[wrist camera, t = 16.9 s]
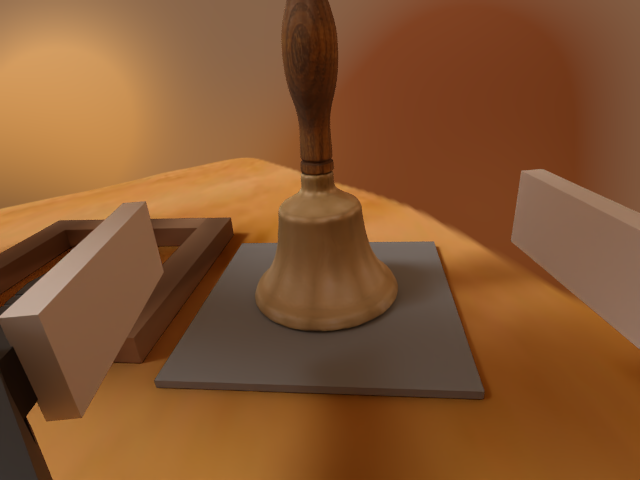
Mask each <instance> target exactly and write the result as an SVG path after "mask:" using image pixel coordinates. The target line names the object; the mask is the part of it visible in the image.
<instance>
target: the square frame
mask: <svg viewBox="0 0 640 480" xmlns="http://www.w3.org/2000/svg"><path fill="white" fill-rule="evenodd" d="M150 220H151V224H152V227H153V231H154V235H155V239H156V243H157V246H180V247H179V248H178V249H177V250H176V251H175V252H174V253H173V254H172V255H171V256H170V257H169V259H168V260H167V261H166V262H165V263H164V264H163V265H162V267H163V271H164V273H163V274H162V276H161V278H160V280H159V281H158V283H157V285H156V287H155V289H154V290H153V292H152V294H151V296H150V297H149V299H148V301H147V303H146V305H145V306H144V308H143V310H142V312H141V313H140V315H139V317H138V319H137V320H136V322H135V324H134V326H133V328H132V329H131V331H130V333H129V335H128V336H127V338H126V340H125V342H124V344H123V345H122V347H121V349H120V351H119V352H118V354H117V356H116V358H115V360H114V361H113V362H126V363H142V362H143V360H144V359H145V357H146V356H147V355H148V353H149V352H150V350H151V349H152V348H153V346H154V345H155V343H156V342H157V341H158V339H159V338H160V336H161V335H162V334H163V332H164V331H165V330H166V328H167V327H168V325H169V324H170V323H171V321H172V320H173V318H174V317H175V316H176V314H177V313H178V311H179V310H180V309H181V307H182V306H183V304H184V303H185V302H186V300H187V299H188V298H189V296H190V295H191V293H192V292H193V291H194V289H195V288H196V286H197V285H198V284H199V282H200V281H201V279H202V278H203V277H204V275H205V274H206V272H207V271H208V270H209V268H210V267H211V266H212V264H213V263H214V261H215V260H216V259H217V257H218V256H219V254H220V253H221V252H222V250H223V249H224V247H225V246H226V245H227V243H228V242H229V240H230V239H231V238H232V236H233V235H234V234H233V228H232V222H231V218H179V219H150ZM103 221H104V220H63V221H57V222H56V223H54V224H52V225H50V226H48V227H47V228H45V229H43V230H41V231H40V232H38V233H36V234H34V235H32V236H31V237H29V238H27V239H25V240H23V241H22V242H20V243H18V244H16V245H15V246H13V247H11V248H9V249H7V250H6V251H4V252H2V253H0V294H1V293H3V292H4V291H6V290H7V289H9V288H10V287H12V286H13V285H15V284H16V283H18V282H19V281H21V280H22V279H24V278H25V277H27V276H28V275H30V274H31V273H33V272H34V271H36V270H37V269H39V268H40V267H42V266H43V265H45V264H46V263H48V262H49V261H50V260H52V259H53V258H55V257H56V256H58V255H59V254H61V253H62V252H64V251H65V250H67V249H68V248H70V247H76V246H77V245H78V244H79V243H80V242H81V241H82V240H83V239H84V238H86V237H87V236H88V235H89V234H90V233H91V232H92V231H93V230H94V229H95V228H97V227H98V226H99V225H100V224H101V223H102V222H103Z"/></svg>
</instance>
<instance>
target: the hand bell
mask: <svg viewBox="0 0 640 480" xmlns="http://www.w3.org/2000/svg"><path fill="white" fill-rule="evenodd" d="M281 38H282V39H281V40H282V56H283V63H284V70H285V76H286V81H287V84H288V88H289V91H290V94H291V97H292V100H293V103H294V105H295V108H296V112H297V116H298V121H299V130H300V155H301V159H302V161H301V172H302V174H301V184H302V186H301V190H300V191H299V192H298V193H296V194H295V195H293V196H292V197H290V198H288V199H286V200H285V201H284V202H283V203H282V204H281V206H280V208H279V229H278V243H277V250H276V254H275V258H274V260H273V263H272V265H271V266H270V268H269V269H268V270H267V271H266V272H265V273H264V274H263V276H262V277H261V279H260V281H259V283H258V285H257V288H256V292H255V300H256V304H257V306H258V308H259V309H260V311H261V312H262V313H263V314H264V315H265V316H266V317H268V318H269V319H270V320H272V321H274V322H276V323H278V324H280V325H283V326H285V327H289V328H293V329H299V330H305V331H309V330H310V331H334V330H340V329H345V328H351V327H355V326H358V325H361V324H363V323H365V322H368V321H370V320H372V319H374V318H376V317H377V316H379V315H381V314H383V313H384V312H385V311H386V310H387V309H388V308H389V307H390V306H391V305H392V304H393V302H394V301H395V299H396V296H397V292H398V284H397V281H396V278H395V276H394V275H393V273H392V272H391V270H390V269H389V268H388V267H387V265H385V264H384V263H383V262H382V261H380V260H379V259H378V258H377V257H376V255H375V254H374V252H373V251H372V249H371V246H370V244H369V241H368V238H367V234H366V230H365V226H364V221H363V215H362V207H361V203H360V201H359V200H358V199H357V198H356V197H355V196H354V195H352V194H349V193H347V192H344V191H342V190H340V189H338V188H337V187H336V186H335V184H334V177H333V172H332V170H333V169H334V166H333V160H332V159H331V158H332V144H331V133H330V112H331V106H332V101H333V97H334V92H335V88H336V81H337V72H338V43H337V33H336V26H335V22H334V18H333V15H332V11H331V8H330V5H329V2H328V0H287V1H286V5H285V9H284V15H283V23H282V34H281Z"/></svg>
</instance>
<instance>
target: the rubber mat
mask: <svg viewBox="0 0 640 480" xmlns="http://www.w3.org/2000/svg"><path fill="white" fill-rule="evenodd" d="M369 244H370V246H371V249H372V251H373V252H374V254H375V255H376V257H377V258H378V259H379V260H380V261H382V262H383V263H384V264H385V265H387V267H388V268H389V269H390V270H391V272H392V273H393V275H394V276H395V278H396V281H397V284H398V292H397V296H396V299H395V301H394V302H393V304H392V305H391V306H390V307H389V308H388V309H387V310H386V311H385V312H384V313H383V314H381V315H379V316H377V317H376V318H374V319H372V320H370V321H368V322H365V323H363V324H361V325H358V326H355V327H351V328H345V329H340V330H334V331H310V330H309V331H305V330H299V329H293V328H289V327H285V326H283V325H280V324H278V323H276V322H274V321H272V320H270V319H269V318H268V317H266V316H265V315H264V314H263V313H262V312H261V311H260V309H259V308H258V306H257V304H256V300H255V292H256V288H257V285H258V283H259V281H260V279H261V277H262V276H263V274H264V273H265V272H266V271H267V270H268V269H269V268H270V266H271V265H272V263H273V260H274V258H275V254H276V250H277V243H242V245H241V246H240V248H239V249H238V251H237V252H236V254H235V256H234V257H233V259H232V260H231V262H230V263H229V265H228V266H227V268H226V270H225V271H224V273H223V274H222V276H221V277H220V279H219V280H218V282H217V284H216V285H215V287H214V288H213V290H212V291H211V293H210V294H209V296H208V298H207V299H206V301H205V302H204V304H203V305H202V307H201V308H200V310H199V312H198V313H197V315H196V316H195V318H194V319H193V321H192V322H191V324H190V326H189V327H188V329H187V330H186V332H185V333H184V335H183V336H182V338H181V340H180V341H179V343H178V344H177V346H176V347H175V349H174V350H173V352H172V354H171V355H170V357H169V358H168V360H167V361H166V363H165V364H164V366H163V368H162V369H161V371H160V372H159V374H158V375H157V377H156V378H155V380H154V382H155V385H156V387H162V388H190V389H217V390H245V391H272V392H300V393H328V394H355V395H383V396H410V397H438V398H465V399H484V389H483V386H482V383H481V380H480V377H479V374H478V371H477V368H476V365H475V362H474V359H473V356H472V353H471V350H470V347H469V344H468V341H467V338H466V335H465V332H464V329H463V326H462V323H461V320H460V318H459V315H458V312H457V309H456V306H455V303H454V300H453V297H452V294H451V291H450V288H449V285H448V282H447V279H446V276H445V273H444V270H443V267H442V264H441V261H440V258H439V255H438V252H437V249H436V246H435V244H434V242H369Z"/></svg>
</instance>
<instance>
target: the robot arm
mask: <svg viewBox="0 0 640 480" xmlns="http://www.w3.org/2000/svg"><path fill="white" fill-rule="evenodd" d="M511 242H512V243H514V244H515V245H516V246H518V248H520V249H521V250H522V251H523V252H524V253H526V254H527V255H528V256H529V257H530V258H532V259H533V260H534V261H535V262H536V263H538V264H539V265H540V266H541V267H542V268H544V269H545V270H546V271H547V272H548V273H549V274H551V275H552V276H553V277H554V278H555V279H556V280H558V281H559V282H560V283H561V284H562V285H564V286H565V287H566V288H567V289H568V290H570V291H571V292H572V293H573V294H574V295H576V296H577V297H578V298H579V299H580V300H581V301H583V302H584V303H585V304H586V305H587V306H589V307H590V308H591V309H592V310H593V311H595V312H596V313H597V314H598V315H599V316H601V317H602V318H603V319H604V320H605V321H606V322H608V323H609V324H610V325H611V326H612V327H614V328H615V329H616V330H617V331H618V332H620V333H621V334H622V335H623V336H624V337H626V338H627V339H628V340H629V341H630V342H631V343H633V344H634V345H635V346H636V347H637V348H639V349H640V213H638V212H636V211H634V210H632V209H629V208H627V207H625V206H623V205H620V204H618V203H616V202H614V201H612V200H610V199H607V198H605V197H603V196H601V195H598V194H596V193H594V192H592V191H590V190H587V189H585V188H583V187H581V186H579V185H576V184H574V183H572V182H570V181H567V180H565V179H563V178H561V177H559V176H556V175H554V174H552V173H550V172H547V171H545V170H543V169H537V170H527V171H526V170H525V171H521V177H520V184H519V191H518V197H517V204H516V211H515V218H514V224H513V231H512V237H511ZM163 273H164V271H163V267H162V263H161V259H160V255H159V251H158V247H157V243H156V239H155V235H154V231H153V227H152V224H151V220H150V216H149V212H148V208H147V204H146V201H144V202H132V203H123V204H122V205H121V206H119V207H118V208H117V209H116V210H115V211H114V212H113V213H112V214H111V215H110V216H109V217H107V218H106V219H105V220H104V221H103V222H102V223H101V224H100V225H99V226H98V227H97V228H95V229H94V230H93V231H92V232H91V233H90V234H89V235H88V236H87V237H86V238H84V239H83V240H82V241H81V242H80V243H79V244H78V245H77V246H76V247H75V248H74V249H72V250H71V251H70V252H69V253H68V254H67V255H66V256H65V257H64V258H63V259H62V260H60V261H59V262H58V263H57V264H56V265H55V266H54V267H53V268H52V269H51V270H50V271H48V272H47V273H45V274H43V275H42V276H40V277H38V278H36V279H34V280H33V281H31V282H29V283H27V284H26V285H25V286H24V287H23V288H22V289H21V290H19V291H18V292H17V293H16V294H15V297H12V298H10V299H9V300H8V301H7V302H6V303H5V304H4V306H1V307H0V480H53V479H52V477H51V475H50V472H49V470H48V467H47V465H46V462H45V460H44V457H43V455H42V452H41V450H40V447H39V445H38V442H37V440H36V437H35V435H34V432H33V430H32V428H31V426H30V424H29V422H28V420H27V418H26V416H27V414H28V413H29V412H30V410H31V409H32V407H33V406H34V405H35V403H36V402H37V403H38V405H39V407H40V409H41V411H42V413H43V415H44V417H45V419H46V421H55V420H64V419H74V418H82V416H83V415H84V413H85V411H86V409H87V408H88V406H89V404H90V402H91V400H92V399H93V397H94V395H95V393H96V392H97V390H98V388H99V386H100V384H101V383H102V381H103V379H104V377H105V376H106V374H107V372H108V370H109V368H110V367H111V365H112V363H113V361H114V360H115V358H116V356H117V354H118V352H119V351H120V349H121V347H122V345H123V344H124V342H125V340H126V338H127V336H128V335H129V333H130V331H131V329H132V328H133V326H134V324H135V322H136V320H137V319H138V317H139V315H140V313H141V312H142V310H143V308H144V306H145V305H146V303H147V301H148V299H149V297H150V296H151V294H152V292H153V290H154V289H155V287H156V285H157V283H158V281H159V280H160V278H161V276H162V274H163Z"/></svg>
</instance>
